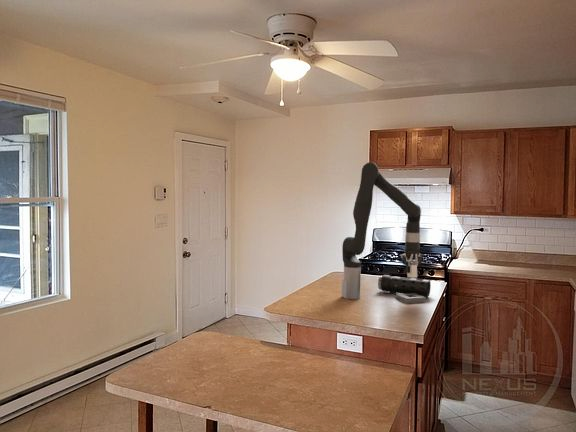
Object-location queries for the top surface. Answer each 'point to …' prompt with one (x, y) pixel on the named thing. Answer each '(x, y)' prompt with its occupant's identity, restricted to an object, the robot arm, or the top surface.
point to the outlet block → (410, 298)
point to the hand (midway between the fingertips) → (411, 272)
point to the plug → (413, 270)
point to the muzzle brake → (404, 285)
